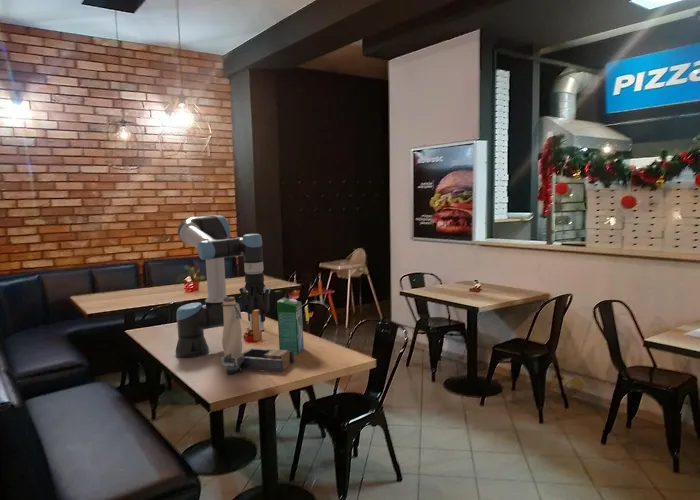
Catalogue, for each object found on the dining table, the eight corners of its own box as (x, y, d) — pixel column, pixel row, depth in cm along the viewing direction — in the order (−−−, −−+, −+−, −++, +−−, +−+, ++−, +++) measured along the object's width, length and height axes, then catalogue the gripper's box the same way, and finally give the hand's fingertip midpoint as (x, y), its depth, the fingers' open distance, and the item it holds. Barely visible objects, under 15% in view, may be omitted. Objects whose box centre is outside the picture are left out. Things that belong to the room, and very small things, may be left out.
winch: (221, 374, 217) (220, 358, 216) (230, 368, 224) (229, 352, 223) (236, 375, 214) (235, 359, 213) (246, 369, 221) (245, 353, 220)
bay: (236, 368, 223) (236, 357, 223) (252, 358, 236) (251, 348, 235) (281, 372, 217) (280, 360, 216) (294, 362, 229) (294, 351, 228)
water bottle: (249, 355, 241) (245, 296, 237) (238, 361, 232) (235, 300, 229) (229, 354, 244) (226, 295, 241) (219, 360, 236) (215, 299, 232)
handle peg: (252, 340, 211) (250, 311, 210) (256, 337, 214) (254, 309, 213) (259, 340, 210) (257, 311, 209) (263, 338, 213) (261, 309, 212)
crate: (264, 368, 222) (264, 354, 221) (273, 362, 230) (272, 349, 229) (281, 370, 219) (281, 356, 219) (290, 363, 227) (289, 350, 226)
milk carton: (298, 354, 240) (295, 301, 237) (279, 353, 242) (276, 301, 239) (303, 348, 249) (301, 297, 246) (285, 347, 250) (283, 296, 248)
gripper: (231, 273, 208) (234, 330, 211) (267, 274, 203) (271, 332, 206) (241, 270, 215) (244, 325, 218) (276, 271, 210) (279, 327, 213)
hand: (257, 329), depth 212 cm, fingers closed on handle peg, 3 cm apart
